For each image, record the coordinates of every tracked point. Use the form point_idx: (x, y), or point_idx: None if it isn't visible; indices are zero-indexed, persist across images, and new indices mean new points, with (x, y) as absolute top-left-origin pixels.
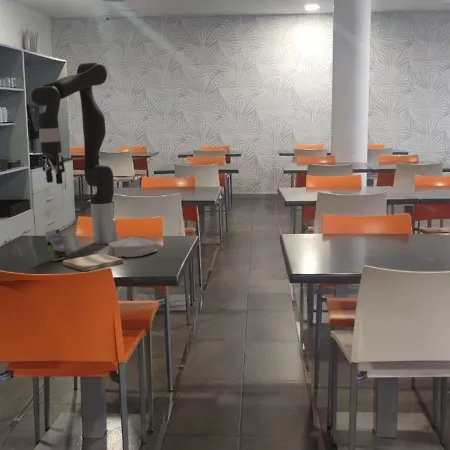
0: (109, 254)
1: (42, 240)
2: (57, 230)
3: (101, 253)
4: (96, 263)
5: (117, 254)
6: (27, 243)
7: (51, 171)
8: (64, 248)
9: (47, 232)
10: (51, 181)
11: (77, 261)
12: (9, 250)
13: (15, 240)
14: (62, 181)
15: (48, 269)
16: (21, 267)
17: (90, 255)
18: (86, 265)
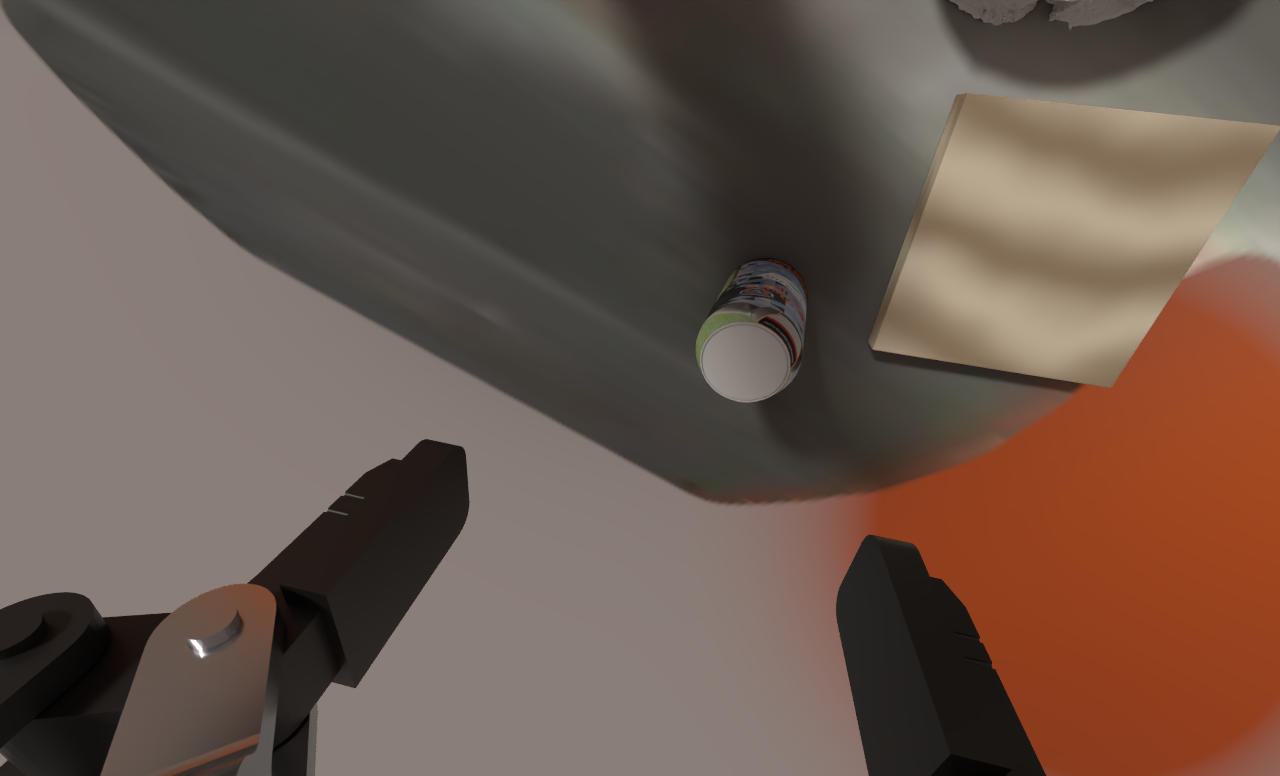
0: (974, 6)
1: (191, 14)
2: (790, 356)
3: (977, 97)
4: (1135, 301)
5: (1091, 3)
6: (236, 135)
7: (280, 625)
8: (797, 286)
9: (745, 398)
10: (457, 470)
11: (974, 325)
12: (361, 294)
13: (114, 127)
14: (922, 565)
15: (875, 428)
16: (729, 455)
17: (941, 184)
18: (1099, 358)
